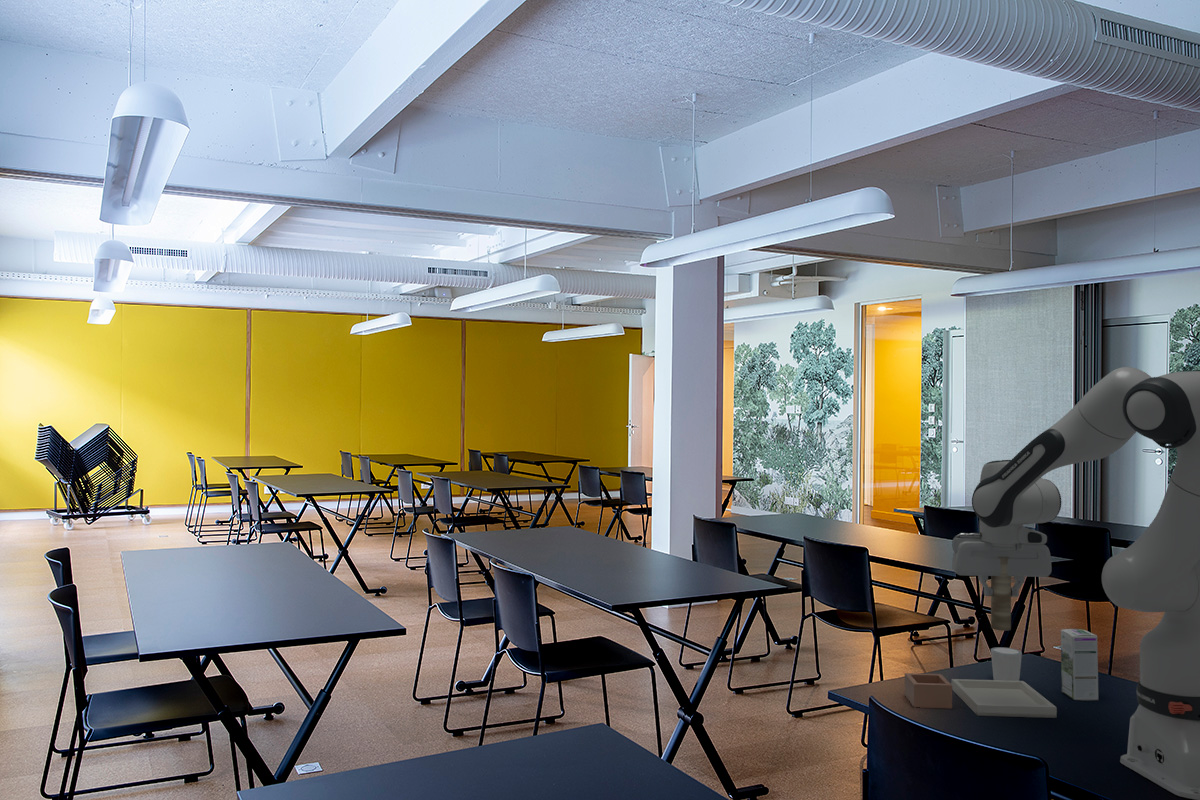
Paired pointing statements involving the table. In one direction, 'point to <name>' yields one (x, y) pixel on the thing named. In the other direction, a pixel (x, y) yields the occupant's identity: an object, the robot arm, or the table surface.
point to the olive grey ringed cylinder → (1001, 598)
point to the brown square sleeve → (928, 690)
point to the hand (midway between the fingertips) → (1001, 596)
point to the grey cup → (1006, 663)
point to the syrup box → (1079, 664)
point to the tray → (1003, 698)
